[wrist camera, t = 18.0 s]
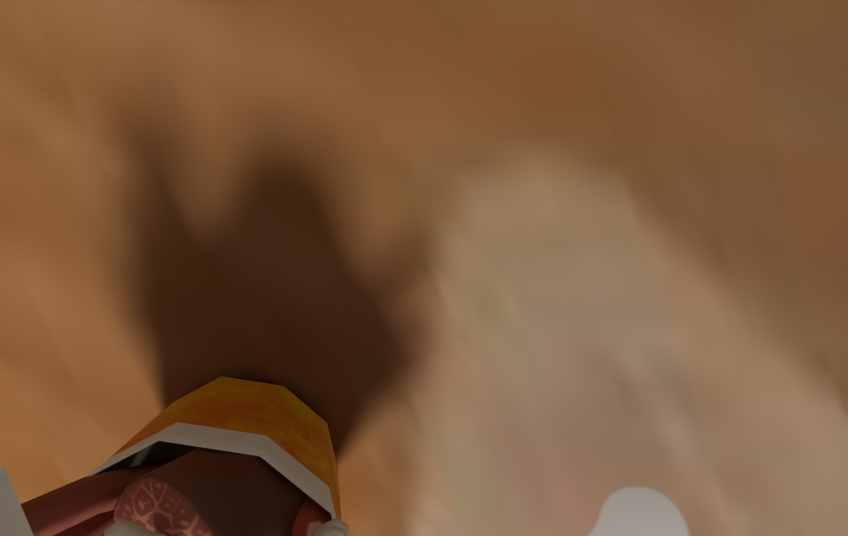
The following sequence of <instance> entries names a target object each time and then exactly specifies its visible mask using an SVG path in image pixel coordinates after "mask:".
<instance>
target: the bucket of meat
mask: <svg viewBox="0 0 848 536" xmlns="http://www.w3.org/2000/svg"><path fill="white" fill-rule="evenodd" d="M20 505H21V507H22V509H23V512H24V514H25V516H26V519H27V521H28V523H29V526H30V528H31V530H32V533H33V535H34V536H348V526H349V525H348V524H346V523H345V522H343V521H342V520H341V509H340V495H339V482H338V469H337V463H336V459H335V455H334V450H333V446H332V442H331V437H330V433H329V429H328V424H327V422H326V421H324V420H323V419H322V418H321V417H320V416H319V415H317V414H316V413H315V412H314V411H313V410H311V409H310V408H309V407H308V406H307V405H306V404H304V403H303V402H302V401H301V400H300V399H298V398H297V397H296V396H295V395H294V394H293V393H291V392H290V391H289V390H288V389H287V388H286V387H284V386H281V385H275V384H268V383H262V382H255V381H249V380H242V379H236V378H229V377H223V376H221V377H219V378H217V379H215V380H213V381H211V382H210V383H208V384H206V385H204V386H202V387H200V388H198V389H197V390H195V391H193V392H191V393H189V394H187V395H185V396H183V397H182V398H180V399H178V400H176V401H174V402H173V403H172V404H170V405H169V406H168V407H167V408H166V409H165V410H164V411H162V412H161V413H160V414H159V415H158V416H157V417H156V418H154V419H153V420H152V421H151V422H150V423H149V424H148V425H147V426H145V427H144V428H143V429H142V430H141V431H140V432H139V433H137V434H136V435H135V436H134V437H133V438H132V439H131V440H129V441H128V442H127V443H126V444H125V445H124V446H123V447H122V448H120V449H119V450H118V451H117V452H116V453H115V454H114V455H112V456H111V457H110V458H109V459H108V460H107V461H106V462H104V463H103V464H102V465H101V466H99V467H97V468H95V469H94V470H93V471H92V472H91V473H90V474H89V475H88V476H87V477H84V478H82V479H79V480H77V481H75V482H72V483H70V484H67V485H65V486H63V487H60V488H58V489H56V490H53V491H51V492H48V493H46V494H44V495H41V496H39V497H37V498H34V499H32V500H30V501H27V502H25V503H22V504H20Z"/></svg>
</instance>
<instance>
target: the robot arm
mask: <svg viewBox="0 0 848 536" xmlns="http://www.w3.org/2000/svg"><path fill="white" fill-rule="evenodd" d="M0 536H34V535H33V533H32V530H31V528H30V526H29V523H28V521H27V519H26V516H25V514H24V512H23V509H22V507H21V505H20V502H19V500H18V498H17V495H16V493H15V491H14V488H13V486H12V484H11V481H10V479H9V477H8V474H7V472H6V470H5V468H0Z"/></svg>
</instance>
